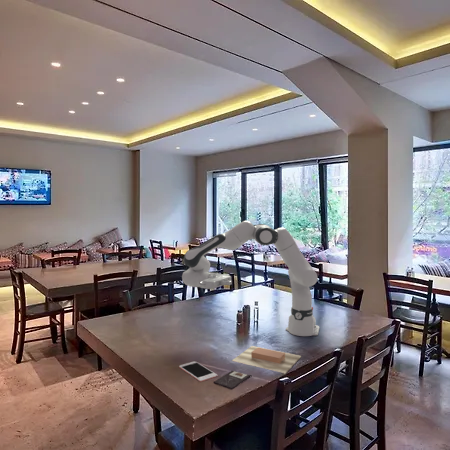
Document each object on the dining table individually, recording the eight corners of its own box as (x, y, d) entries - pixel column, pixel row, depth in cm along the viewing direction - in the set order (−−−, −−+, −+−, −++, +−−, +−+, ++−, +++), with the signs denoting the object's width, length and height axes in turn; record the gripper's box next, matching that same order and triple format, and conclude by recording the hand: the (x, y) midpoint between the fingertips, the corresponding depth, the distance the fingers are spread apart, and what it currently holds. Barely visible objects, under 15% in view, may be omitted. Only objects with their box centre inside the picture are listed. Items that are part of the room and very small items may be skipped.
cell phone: (200, 382, 148) (200, 380, 148) (178, 367, 162) (178, 365, 162) (218, 377, 153) (218, 374, 153) (195, 362, 168) (195, 360, 168)
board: (251, 346, 187) (251, 345, 187) (301, 357, 174) (301, 355, 174) (231, 362, 168) (231, 360, 168) (285, 374, 155) (285, 373, 155)
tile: (257, 347, 177) (285, 353, 170) (257, 353, 177) (284, 358, 170) (251, 352, 171) (279, 358, 164) (251, 358, 171) (279, 364, 164)
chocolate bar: (213, 381, 147) (238, 366, 162) (213, 384, 147) (238, 368, 162) (231, 388, 142) (255, 371, 157) (231, 390, 142) (255, 374, 157)
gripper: (197, 277, 189) (220, 280, 182) (217, 272, 206) (239, 274, 200) (197, 289, 189) (220, 292, 182) (217, 283, 207) (239, 285, 200)
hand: (230, 283), depth 191 cm, fingers closed
